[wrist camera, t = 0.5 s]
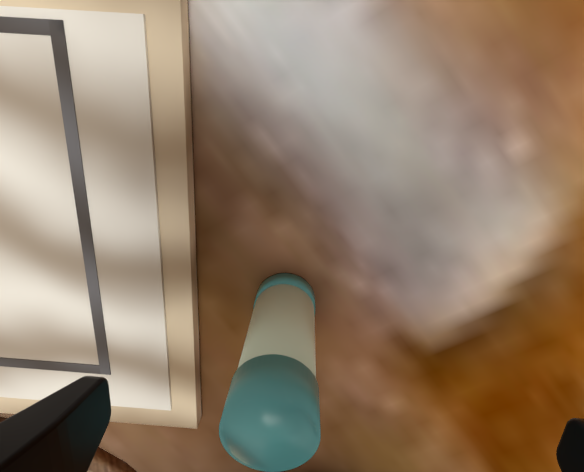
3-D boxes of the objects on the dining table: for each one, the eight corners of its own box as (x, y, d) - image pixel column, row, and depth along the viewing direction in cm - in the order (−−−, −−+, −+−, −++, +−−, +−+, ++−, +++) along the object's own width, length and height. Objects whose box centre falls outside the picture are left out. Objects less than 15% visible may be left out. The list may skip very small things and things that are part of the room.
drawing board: (201, 415, 24) (196, 432, 23) (-70, 394, 24) (-89, 409, 23) (186, -18, 16) (177, -28, 15) (-222, -41, 16) (-264, -52, 15)
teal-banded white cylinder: (313, 327, 21) (316, 475, 13) (254, 323, 21) (219, 467, 13) (318, 274, 20) (324, 399, 12) (256, 270, 20) (218, 390, 12)
